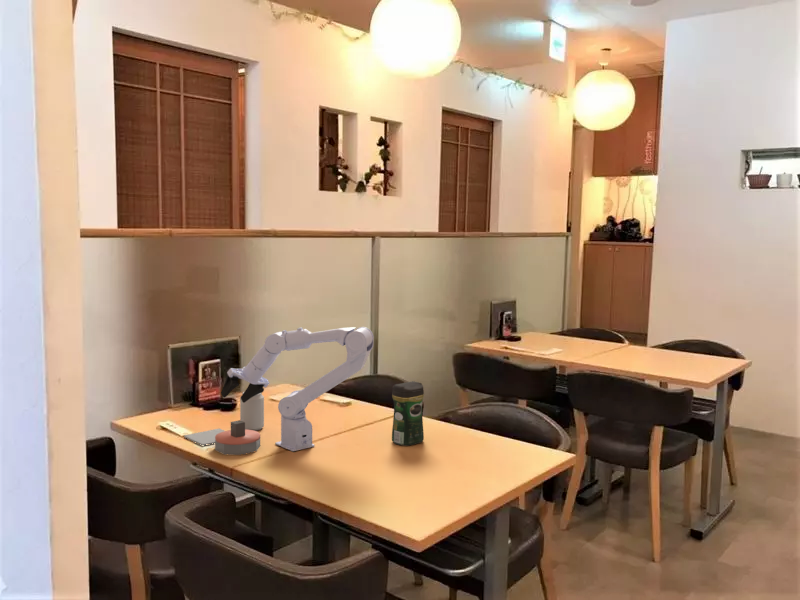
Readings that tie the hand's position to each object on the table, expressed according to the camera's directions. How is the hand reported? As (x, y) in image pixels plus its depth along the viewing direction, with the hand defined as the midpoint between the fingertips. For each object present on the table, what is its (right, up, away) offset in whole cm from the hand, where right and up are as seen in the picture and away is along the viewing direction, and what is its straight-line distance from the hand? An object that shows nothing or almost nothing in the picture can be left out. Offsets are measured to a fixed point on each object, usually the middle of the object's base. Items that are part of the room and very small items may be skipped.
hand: (232, 397), depth 210 cm
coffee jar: (+53, -14, +2) cm, 55 cm away
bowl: (+3, -14, -6) cm, 16 cm away
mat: (-7, -13, +3) cm, 15 cm away
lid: (+3, -11, -7) cm, 13 cm away
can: (+3, -12, +14) cm, 19 cm away
